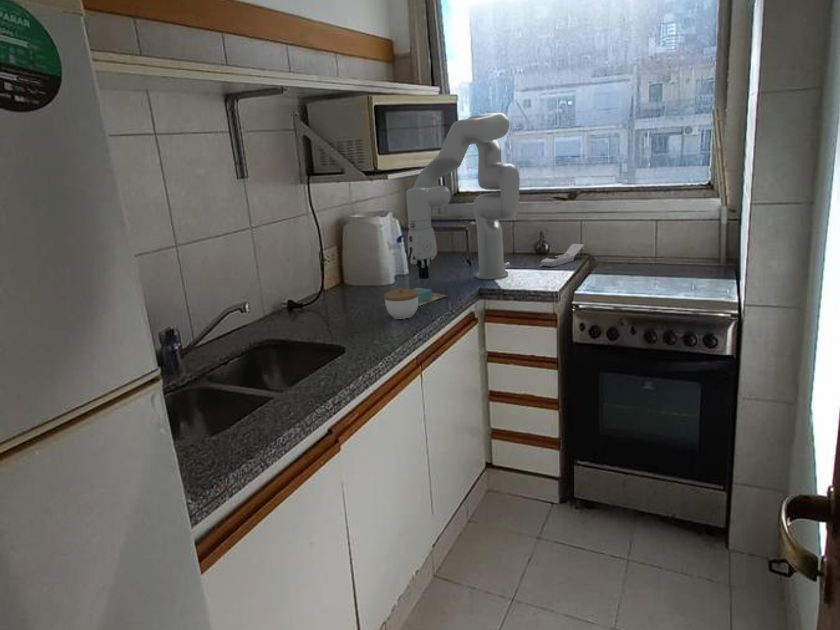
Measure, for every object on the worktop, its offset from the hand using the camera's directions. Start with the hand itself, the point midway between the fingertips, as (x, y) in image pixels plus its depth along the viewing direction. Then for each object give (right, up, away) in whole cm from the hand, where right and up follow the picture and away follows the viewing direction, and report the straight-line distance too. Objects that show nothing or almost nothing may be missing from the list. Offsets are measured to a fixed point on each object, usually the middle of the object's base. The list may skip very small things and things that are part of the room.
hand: (424, 278), depth 210 cm
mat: (-1, -8, 0) cm, 8 cm away
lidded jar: (-7, -13, -17) cm, 23 cm away
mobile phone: (+57, +9, +42) cm, 71 cm away
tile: (0, -5, +1) cm, 5 cm away
